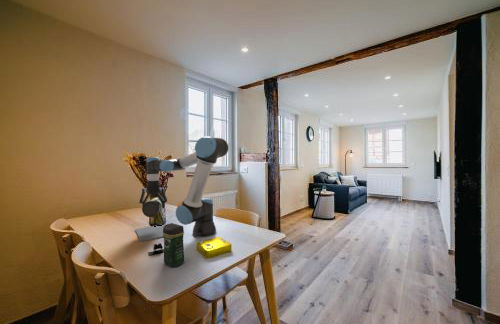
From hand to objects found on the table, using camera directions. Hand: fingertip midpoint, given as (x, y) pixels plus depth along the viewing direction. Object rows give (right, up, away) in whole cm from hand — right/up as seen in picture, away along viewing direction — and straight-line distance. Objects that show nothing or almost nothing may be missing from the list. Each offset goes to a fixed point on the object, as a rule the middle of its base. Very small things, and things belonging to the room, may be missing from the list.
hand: (153, 213), depth 148 cm
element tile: (+45, -14, -29) cm, 56 cm away
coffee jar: (+29, -14, -43) cm, 54 cm away
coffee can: (-1, +4, +8) cm, 9 cm away
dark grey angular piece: (+16, -14, -31) cm, 37 cm away
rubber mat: (0, -13, 0) cm, 13 cm away
